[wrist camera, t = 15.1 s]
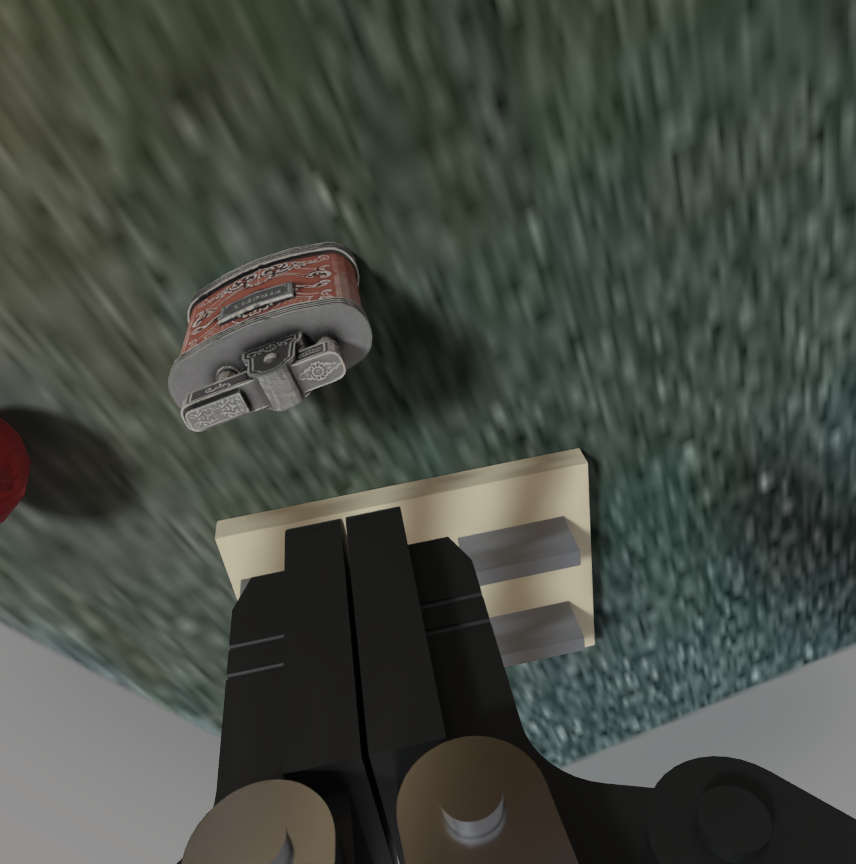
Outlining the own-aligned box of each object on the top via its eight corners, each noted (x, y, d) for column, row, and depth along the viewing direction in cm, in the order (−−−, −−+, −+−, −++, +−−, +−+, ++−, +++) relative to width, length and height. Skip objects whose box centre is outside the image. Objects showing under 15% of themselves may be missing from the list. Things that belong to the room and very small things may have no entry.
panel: (579, 447, 43) (613, 507, 39) (587, 627, 51) (617, 695, 46) (217, 521, 42) (208, 591, 38) (279, 693, 50) (278, 770, 45)
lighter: (342, 226, 35) (358, 312, 27) (369, 292, 37) (392, 393, 29) (175, 290, 36) (139, 395, 27) (210, 353, 37) (186, 470, 29)
